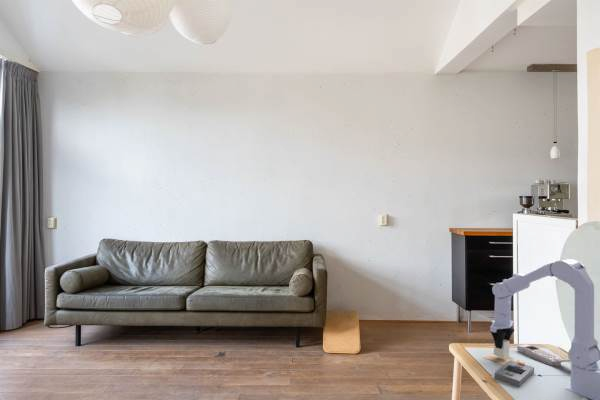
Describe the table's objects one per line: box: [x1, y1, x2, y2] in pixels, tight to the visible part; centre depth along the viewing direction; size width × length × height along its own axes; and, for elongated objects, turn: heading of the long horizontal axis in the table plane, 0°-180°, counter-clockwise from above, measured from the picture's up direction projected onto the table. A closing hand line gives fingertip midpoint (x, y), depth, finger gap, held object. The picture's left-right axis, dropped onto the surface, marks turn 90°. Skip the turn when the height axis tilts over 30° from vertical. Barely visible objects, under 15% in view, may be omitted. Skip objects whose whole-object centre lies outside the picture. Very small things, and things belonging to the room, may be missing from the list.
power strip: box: [494, 360, 535, 388], centre depth 137 cm, size 16×8×4 cm, turn 133°
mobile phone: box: [516, 343, 571, 367], centre depth 152 cm, size 6×6×25 cm
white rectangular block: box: [493, 339, 511, 358], centre depth 151 cm, size 4×4×6 cm
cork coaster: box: [483, 352, 520, 366], centre depth 151 cm, size 10×10×1 cm
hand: (501, 346), depth 151 cm, fingers closed on white rectangular block, 4 cm apart
